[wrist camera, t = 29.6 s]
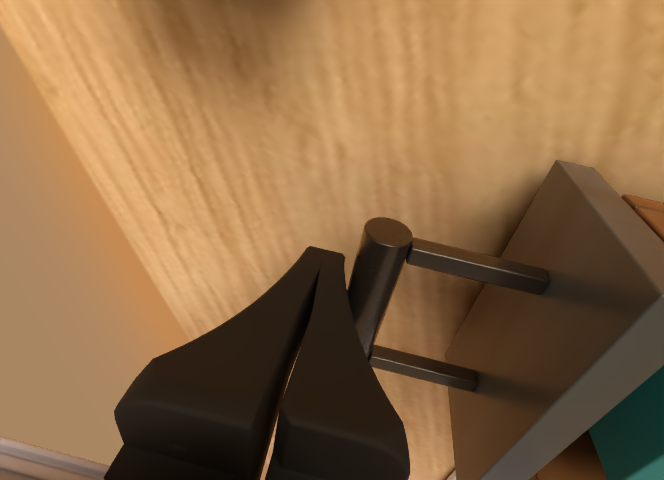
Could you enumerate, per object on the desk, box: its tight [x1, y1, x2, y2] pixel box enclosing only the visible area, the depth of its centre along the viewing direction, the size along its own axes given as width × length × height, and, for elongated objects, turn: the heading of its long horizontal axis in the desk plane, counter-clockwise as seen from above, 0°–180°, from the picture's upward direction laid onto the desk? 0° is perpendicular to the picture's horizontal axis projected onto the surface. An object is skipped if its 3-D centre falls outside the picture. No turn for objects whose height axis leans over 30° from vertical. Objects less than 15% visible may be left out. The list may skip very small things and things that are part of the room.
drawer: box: [347, 160, 664, 480], centre depth 12 cm, size 18×10×6 cm, turn 80°
